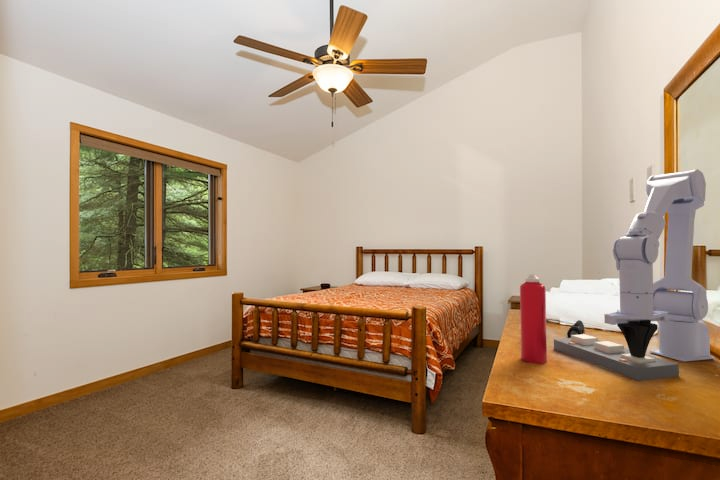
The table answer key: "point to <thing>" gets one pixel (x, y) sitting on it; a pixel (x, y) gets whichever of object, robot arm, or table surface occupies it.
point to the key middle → (609, 347)
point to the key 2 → (638, 360)
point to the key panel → (619, 361)
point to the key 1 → (583, 339)
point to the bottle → (533, 321)
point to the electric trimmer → (576, 329)
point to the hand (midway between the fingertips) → (637, 356)
